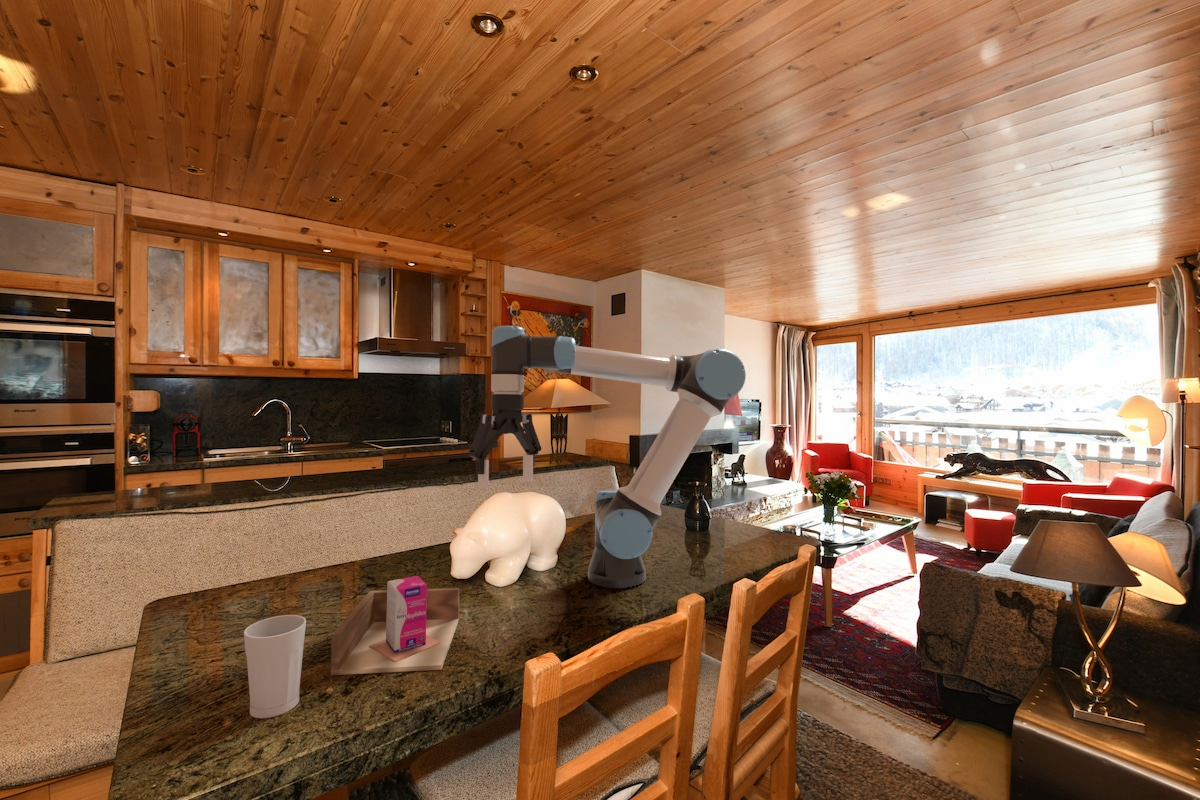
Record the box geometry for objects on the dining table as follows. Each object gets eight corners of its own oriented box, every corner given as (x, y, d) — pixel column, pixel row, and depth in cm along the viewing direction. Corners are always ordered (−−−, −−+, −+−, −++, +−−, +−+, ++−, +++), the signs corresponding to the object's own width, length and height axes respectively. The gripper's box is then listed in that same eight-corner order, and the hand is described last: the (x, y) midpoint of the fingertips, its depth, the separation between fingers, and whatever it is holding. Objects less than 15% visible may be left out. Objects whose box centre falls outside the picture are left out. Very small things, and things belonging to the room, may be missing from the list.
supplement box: (394, 654, 91) (395, 590, 91) (385, 641, 96) (386, 580, 96) (427, 645, 95) (427, 583, 95) (416, 633, 100) (417, 574, 100)
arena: (459, 620, 108) (459, 587, 108) (441, 669, 88) (441, 630, 88) (369, 623, 106) (369, 590, 106) (330, 675, 86) (331, 634, 86)
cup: (228, 718, 74) (229, 635, 74) (272, 688, 82) (273, 613, 82) (277, 724, 73) (278, 640, 73) (317, 693, 81) (318, 616, 81)
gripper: (534, 394, 131) (533, 477, 131) (452, 392, 112) (451, 490, 112) (556, 394, 127) (555, 480, 127) (474, 392, 107) (473, 494, 107)
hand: (506, 485), depth 119 cm, fingers open, 13 cm apart
